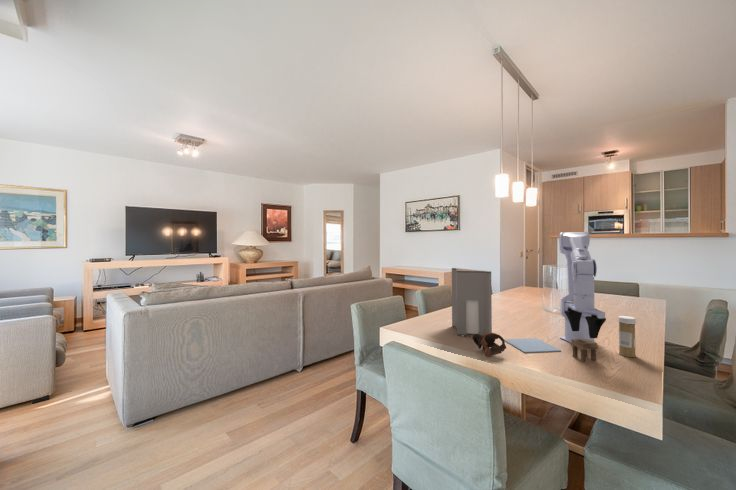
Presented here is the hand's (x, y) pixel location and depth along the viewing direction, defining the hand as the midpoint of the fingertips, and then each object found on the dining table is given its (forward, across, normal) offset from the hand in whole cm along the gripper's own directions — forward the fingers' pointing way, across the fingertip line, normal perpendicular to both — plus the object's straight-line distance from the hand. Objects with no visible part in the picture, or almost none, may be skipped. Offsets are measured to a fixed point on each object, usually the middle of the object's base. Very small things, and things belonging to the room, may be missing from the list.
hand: (584, 334), depth 102 cm
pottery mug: (+9, -9, -29) cm, 32 cm away
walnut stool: (+8, 0, 0) cm, 8 cm away
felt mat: (+8, -14, -10) cm, 19 cm away
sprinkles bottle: (+8, -1, +17) cm, 19 cm away
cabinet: (+8, -32, -29) cm, 44 cm away
